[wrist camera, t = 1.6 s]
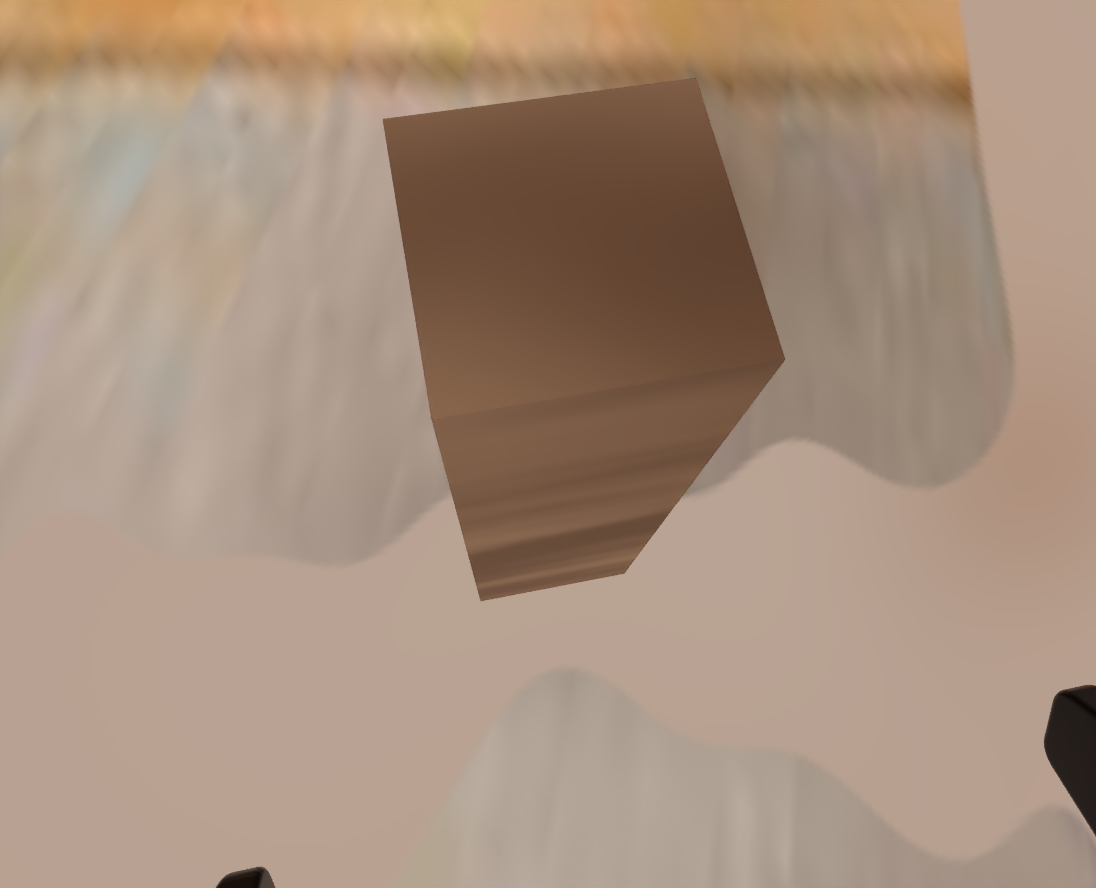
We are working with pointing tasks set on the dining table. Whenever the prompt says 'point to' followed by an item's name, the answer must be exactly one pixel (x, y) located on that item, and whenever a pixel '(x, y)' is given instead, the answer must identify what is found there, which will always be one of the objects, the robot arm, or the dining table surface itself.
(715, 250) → the walnut baton
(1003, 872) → the dining table surface
